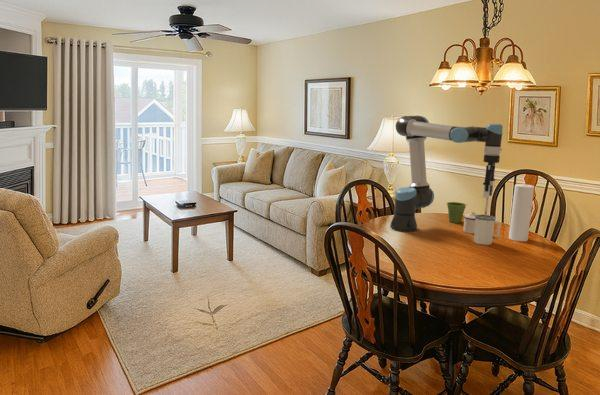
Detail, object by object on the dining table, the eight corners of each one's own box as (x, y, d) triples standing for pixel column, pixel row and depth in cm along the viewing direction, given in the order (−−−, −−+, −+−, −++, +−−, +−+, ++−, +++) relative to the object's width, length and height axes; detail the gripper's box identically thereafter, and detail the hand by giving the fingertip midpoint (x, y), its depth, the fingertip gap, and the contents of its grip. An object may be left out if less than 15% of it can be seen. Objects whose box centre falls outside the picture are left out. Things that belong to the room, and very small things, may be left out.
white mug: (472, 242, 245) (474, 217, 242) (474, 238, 253) (477, 213, 250) (497, 246, 239) (499, 220, 236) (499, 242, 247) (501, 216, 244)
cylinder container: (528, 238, 255) (535, 184, 249) (526, 242, 247) (533, 187, 241) (509, 235, 260) (516, 182, 254) (507, 239, 252) (513, 185, 246)
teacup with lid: (481, 234, 260) (483, 214, 258) (464, 233, 262) (466, 213, 260) (476, 229, 272) (478, 209, 270) (460, 228, 274) (462, 208, 271)
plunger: (478, 223, 243) (481, 185, 239) (479, 220, 248) (483, 184, 244) (490, 224, 240) (494, 186, 236) (491, 222, 245) (495, 185, 241)
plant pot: (468, 222, 288) (470, 204, 286) (459, 225, 280) (460, 206, 278) (451, 218, 296) (452, 201, 294) (441, 221, 288) (442, 203, 286)
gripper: (497, 157, 224) (492, 200, 229) (502, 152, 246) (498, 192, 250) (480, 156, 228) (476, 198, 232) (487, 151, 249) (483, 190, 254)
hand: (487, 195), depth 241 cm, fingers open, 13 cm apart
